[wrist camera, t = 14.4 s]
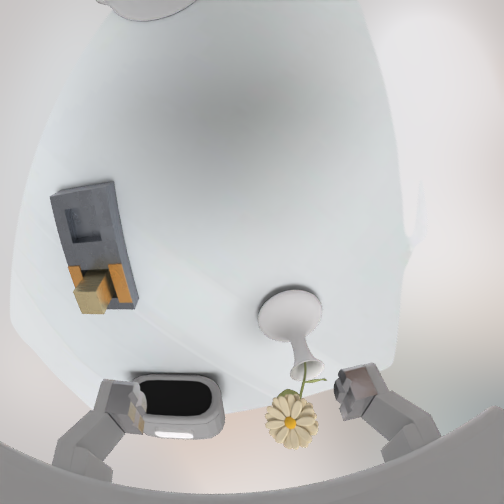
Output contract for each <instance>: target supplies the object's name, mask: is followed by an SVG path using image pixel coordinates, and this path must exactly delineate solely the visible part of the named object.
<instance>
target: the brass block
mask: <svg viewBox="0 0 504 504" xmlns="http://www.w3.org/2000/svg"><path fill="white" fill-rule="evenodd" d="M73 293H74V295H75V298H76V300H77V303H78V305H79V308H80V310H81V312H82V314H104V313H105V311H106V309H107V307H108V305H109V303H110V301H111V299H112V297H113V295H114V293H115V287H114V284H113V281H112V278H111V274H110V271H109V269H94V270H88V271H87V273H86V274H85V275H84V277H83V278H82V280H81V281H80V283H79V284H78V285H77V287H76V288H75V290H74V291H73Z"/></svg>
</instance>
